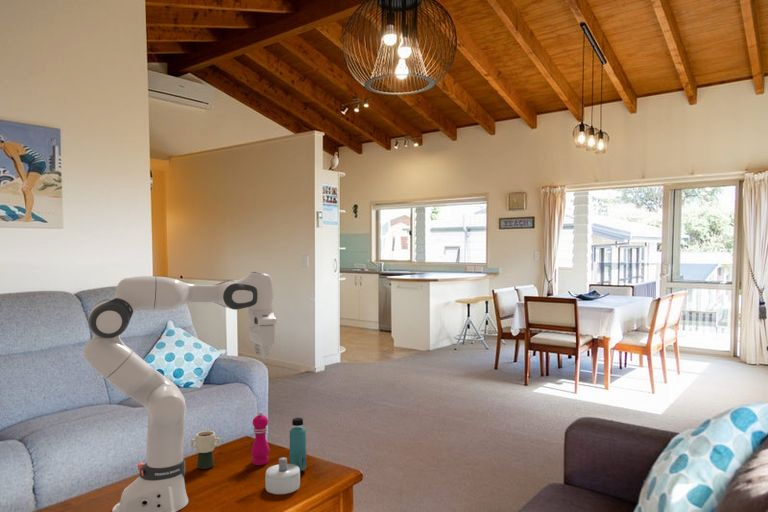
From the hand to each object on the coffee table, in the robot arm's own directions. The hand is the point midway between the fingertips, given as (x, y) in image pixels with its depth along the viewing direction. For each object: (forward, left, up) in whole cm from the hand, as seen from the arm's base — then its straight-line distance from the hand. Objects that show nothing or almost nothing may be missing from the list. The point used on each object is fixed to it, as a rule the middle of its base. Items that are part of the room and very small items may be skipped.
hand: (260, 356), depth 184 cm
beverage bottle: (+16, +5, -46) cm, 49 cm away
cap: (+7, -5, -46) cm, 46 cm away
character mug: (-14, +26, -46) cm, 55 cm away
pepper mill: (+6, +21, -46) cm, 51 cm away
